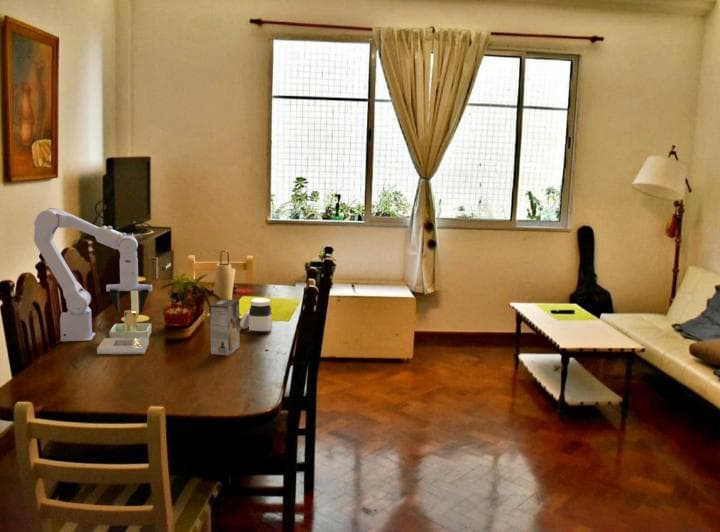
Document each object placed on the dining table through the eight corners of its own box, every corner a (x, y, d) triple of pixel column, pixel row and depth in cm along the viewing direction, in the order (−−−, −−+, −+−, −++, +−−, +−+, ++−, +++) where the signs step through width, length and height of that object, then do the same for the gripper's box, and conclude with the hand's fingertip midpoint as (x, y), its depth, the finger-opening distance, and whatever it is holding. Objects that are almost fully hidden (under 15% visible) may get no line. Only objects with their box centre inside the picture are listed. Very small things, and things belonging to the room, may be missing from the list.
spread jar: (268, 336, 233) (269, 304, 231) (236, 335, 233) (236, 302, 231) (274, 327, 245) (274, 296, 243) (243, 325, 245) (243, 294, 243)
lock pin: (123, 336, 225) (123, 312, 224) (125, 332, 229) (125, 310, 228) (136, 336, 226) (135, 313, 225) (137, 332, 230) (137, 310, 229)
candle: (119, 317, 251) (116, 231, 245) (147, 314, 255) (145, 230, 249) (122, 323, 242) (119, 234, 236) (151, 321, 247) (148, 234, 241)
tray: (109, 341, 222) (109, 332, 221) (115, 332, 232) (114, 323, 231) (147, 340, 224) (147, 331, 223) (151, 331, 234) (151, 323, 233)
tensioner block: (97, 354, 208) (96, 348, 207) (104, 344, 218) (104, 338, 218) (144, 353, 210) (143, 347, 210) (148, 343, 221) (148, 337, 220)
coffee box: (221, 345, 221) (221, 298, 218) (240, 347, 220) (240, 299, 217) (210, 354, 212) (209, 304, 209) (229, 356, 211) (228, 306, 208)
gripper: (103, 274, 219) (105, 314, 221) (149, 274, 221) (150, 314, 224) (108, 270, 226) (109, 309, 228) (152, 270, 228) (153, 309, 230)
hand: (130, 311), depth 226 cm, fingers open, 7 cm apart
